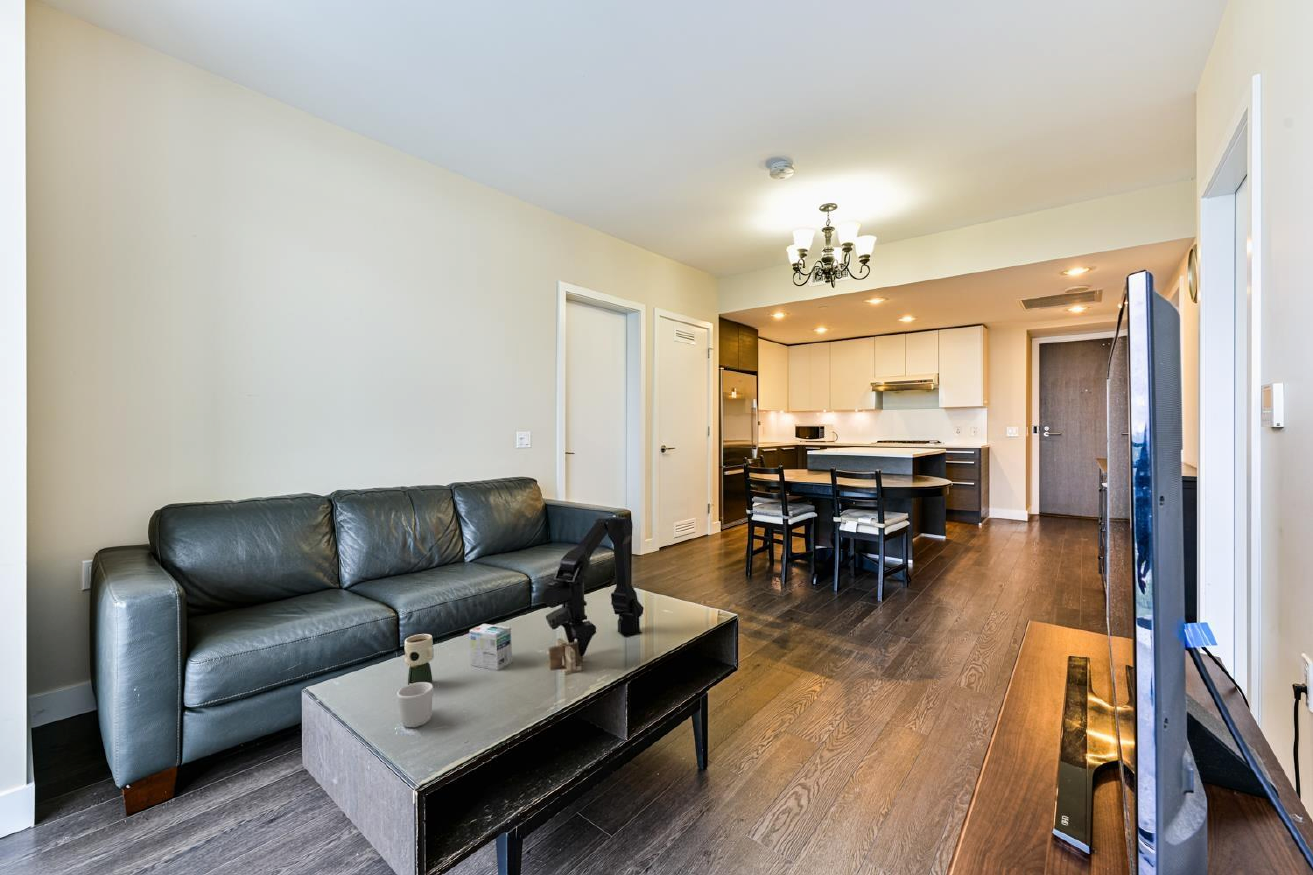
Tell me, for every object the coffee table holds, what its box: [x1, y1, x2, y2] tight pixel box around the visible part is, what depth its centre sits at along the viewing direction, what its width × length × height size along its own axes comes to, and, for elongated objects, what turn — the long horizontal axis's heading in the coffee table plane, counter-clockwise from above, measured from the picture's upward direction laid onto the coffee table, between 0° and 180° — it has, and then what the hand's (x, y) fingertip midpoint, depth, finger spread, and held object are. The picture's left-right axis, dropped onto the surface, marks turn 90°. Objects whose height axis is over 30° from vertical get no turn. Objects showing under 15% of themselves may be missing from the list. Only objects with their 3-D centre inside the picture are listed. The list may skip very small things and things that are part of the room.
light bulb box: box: [469, 623, 513, 671], centre depth 165 cm, size 11×7×11 cm, turn 65°
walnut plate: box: [547, 640, 584, 671], centre depth 162 cm, size 10×1×6 cm, turn 118°
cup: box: [396, 682, 434, 728], centre depth 133 cm, size 11×8×8 cm
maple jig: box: [556, 637, 582, 675], centre depth 162 cm, size 5×12×6 cm, turn 28°
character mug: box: [404, 633, 435, 685], centre depth 152 cm, size 11×7×13 cm, turn 63°
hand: (576, 650), depth 164 cm, fingers open, 9 cm apart
